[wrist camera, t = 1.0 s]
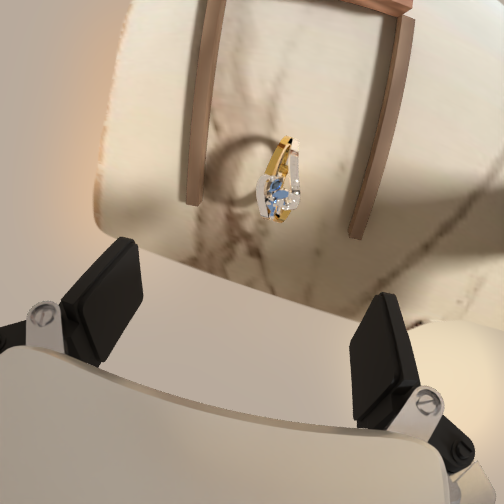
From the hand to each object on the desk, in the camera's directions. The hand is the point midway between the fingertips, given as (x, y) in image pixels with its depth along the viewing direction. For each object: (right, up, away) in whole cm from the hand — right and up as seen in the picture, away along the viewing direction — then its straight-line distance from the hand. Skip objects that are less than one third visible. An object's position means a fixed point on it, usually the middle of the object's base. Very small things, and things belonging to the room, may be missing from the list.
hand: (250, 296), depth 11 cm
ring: (+3, +10, +15) cm, 18 cm away
